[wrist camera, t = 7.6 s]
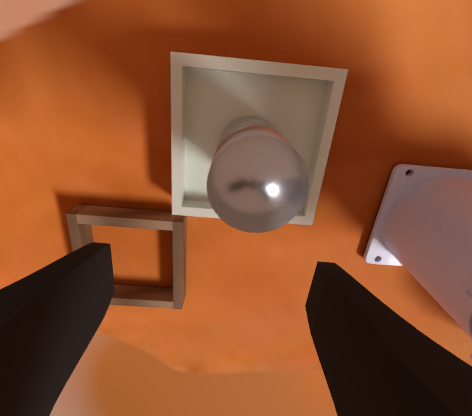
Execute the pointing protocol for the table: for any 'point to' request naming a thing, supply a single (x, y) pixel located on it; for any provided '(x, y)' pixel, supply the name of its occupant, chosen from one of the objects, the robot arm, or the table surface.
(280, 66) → the beige shallow square tray
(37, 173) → the table surface
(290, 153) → the dowel pin
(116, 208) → the walnut collar
